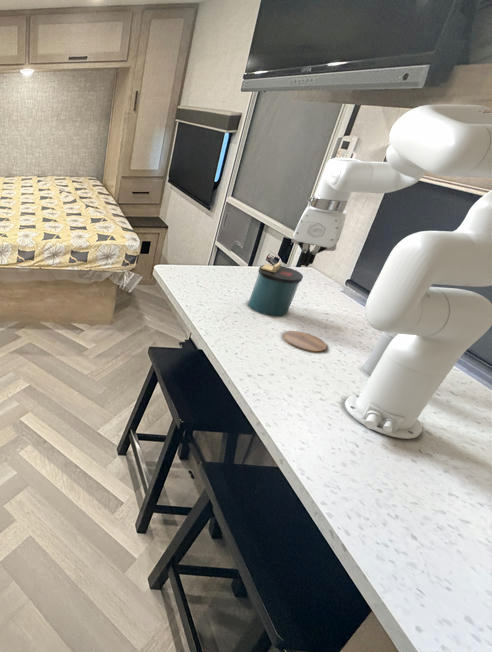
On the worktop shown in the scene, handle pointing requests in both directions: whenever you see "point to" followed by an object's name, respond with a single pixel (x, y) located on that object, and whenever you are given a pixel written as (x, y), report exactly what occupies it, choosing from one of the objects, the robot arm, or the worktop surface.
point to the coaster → (304, 341)
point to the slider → (272, 267)
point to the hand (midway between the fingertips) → (305, 264)
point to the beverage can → (378, 351)
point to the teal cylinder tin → (274, 291)
